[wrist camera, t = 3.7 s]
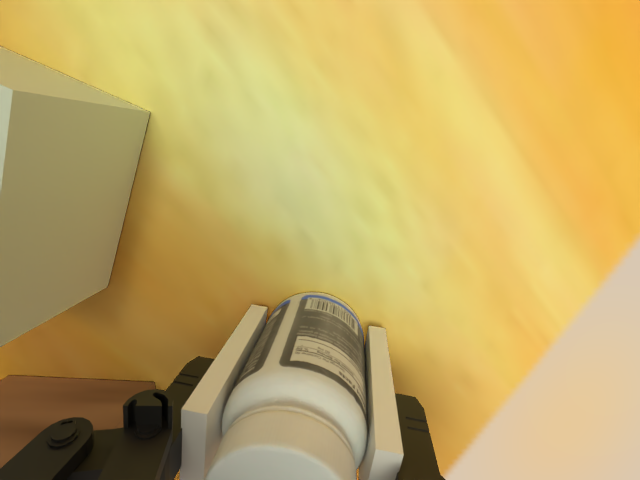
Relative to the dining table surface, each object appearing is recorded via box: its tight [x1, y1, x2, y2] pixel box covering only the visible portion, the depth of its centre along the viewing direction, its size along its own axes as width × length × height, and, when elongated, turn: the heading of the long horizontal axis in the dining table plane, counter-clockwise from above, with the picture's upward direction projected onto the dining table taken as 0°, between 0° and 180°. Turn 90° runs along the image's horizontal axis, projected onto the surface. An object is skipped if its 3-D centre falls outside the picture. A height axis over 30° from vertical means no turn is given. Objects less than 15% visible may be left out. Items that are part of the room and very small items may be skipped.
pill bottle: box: [205, 292, 368, 480], centre depth 12 cm, size 5×5×8 cm
